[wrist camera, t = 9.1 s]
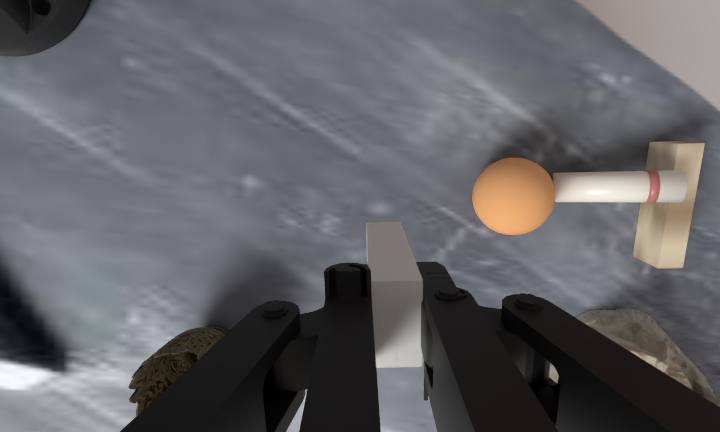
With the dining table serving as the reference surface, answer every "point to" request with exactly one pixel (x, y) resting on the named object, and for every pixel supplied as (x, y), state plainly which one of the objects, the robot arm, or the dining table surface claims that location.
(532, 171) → the ball
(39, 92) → the dining table surface
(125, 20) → the dining table surface
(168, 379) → the cup
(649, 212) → the stopper rail
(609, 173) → the pin
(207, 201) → the dining table surface
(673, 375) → the ceramic cottage
